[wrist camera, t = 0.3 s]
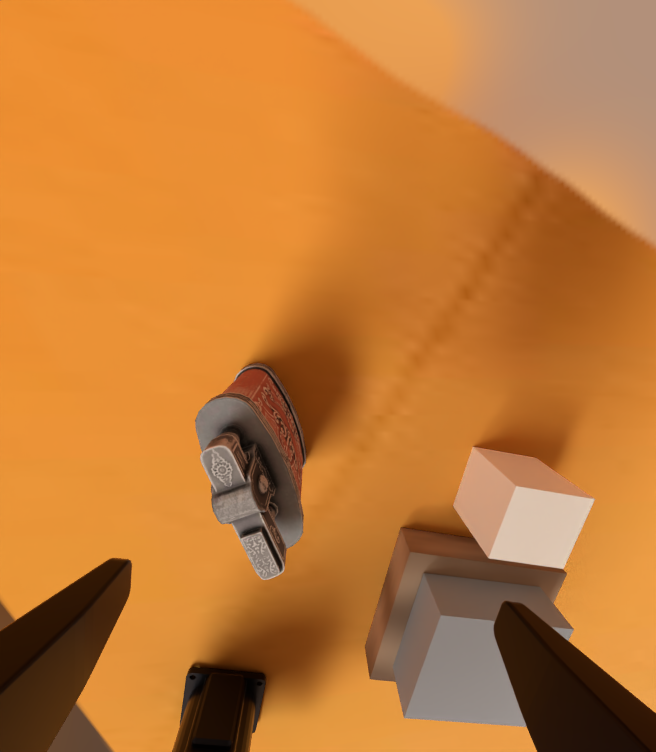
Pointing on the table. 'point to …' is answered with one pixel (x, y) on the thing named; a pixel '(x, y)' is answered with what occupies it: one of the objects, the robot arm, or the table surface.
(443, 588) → the top block
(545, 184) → the table surface
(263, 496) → the lighter
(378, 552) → the table surface
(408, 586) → the base block
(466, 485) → the cube
